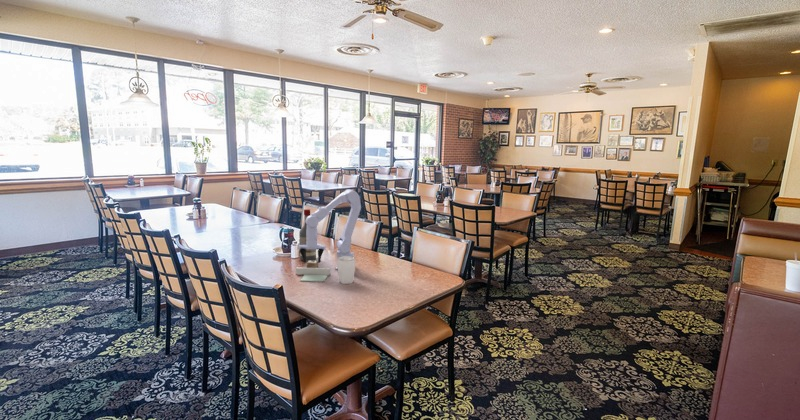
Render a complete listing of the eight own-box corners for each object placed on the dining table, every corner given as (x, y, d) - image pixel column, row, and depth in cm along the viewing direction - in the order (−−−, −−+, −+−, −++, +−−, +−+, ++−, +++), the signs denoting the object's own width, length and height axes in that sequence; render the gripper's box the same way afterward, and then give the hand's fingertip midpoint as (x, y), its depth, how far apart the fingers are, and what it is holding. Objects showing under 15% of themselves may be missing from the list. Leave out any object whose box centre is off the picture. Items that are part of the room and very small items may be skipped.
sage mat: (327, 276, 198) (327, 274, 198) (324, 281, 189) (324, 280, 189) (304, 275, 198) (304, 274, 198) (300, 281, 189) (300, 280, 189)
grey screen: (330, 274, 200) (330, 268, 200) (330, 275, 199) (330, 268, 199) (296, 273, 200) (296, 267, 200) (296, 274, 199) (295, 268, 199)
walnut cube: (318, 269, 209) (317, 260, 208) (315, 272, 204) (315, 262, 203) (308, 269, 209) (308, 259, 208) (306, 272, 204) (306, 262, 203)
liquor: (299, 257, 231) (298, 208, 227) (314, 256, 234) (314, 208, 229) (300, 261, 223) (299, 211, 218) (316, 260, 225) (315, 210, 221)
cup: (358, 280, 193) (358, 257, 191) (350, 285, 184) (350, 262, 182) (342, 277, 195) (342, 255, 194) (334, 283, 187) (333, 260, 185)
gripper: (296, 239, 199) (296, 264, 201) (323, 239, 199) (323, 264, 201) (299, 236, 206) (300, 260, 208) (326, 236, 206) (326, 260, 208)
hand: (312, 262), depth 205 cm, fingers open, 7 cm apart
